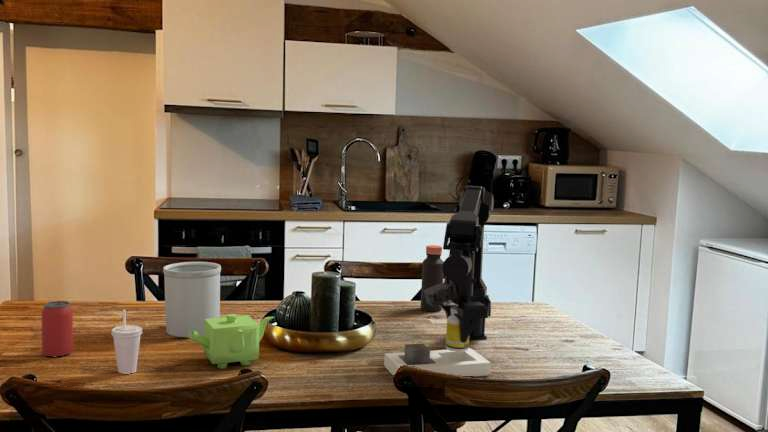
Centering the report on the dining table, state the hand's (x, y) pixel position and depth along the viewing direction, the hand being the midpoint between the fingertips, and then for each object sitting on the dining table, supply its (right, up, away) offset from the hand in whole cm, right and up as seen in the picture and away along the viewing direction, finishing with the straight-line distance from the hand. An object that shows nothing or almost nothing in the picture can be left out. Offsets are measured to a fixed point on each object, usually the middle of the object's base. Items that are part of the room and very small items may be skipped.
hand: (457, 338), depth 162 cm
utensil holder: (-69, -2, +24) cm, 73 cm away
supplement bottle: (0, -3, 0) cm, 3 cm away
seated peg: (-10, -7, -2) cm, 13 cm away
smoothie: (-74, -6, -9) cm, 75 cm away
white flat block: (-5, -7, -1) cm, 9 cm away
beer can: (-94, -4, +1) cm, 94 cm away
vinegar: (-2, -1, +56) cm, 56 cm away
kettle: (-52, -6, 0) cm, 53 cm away
